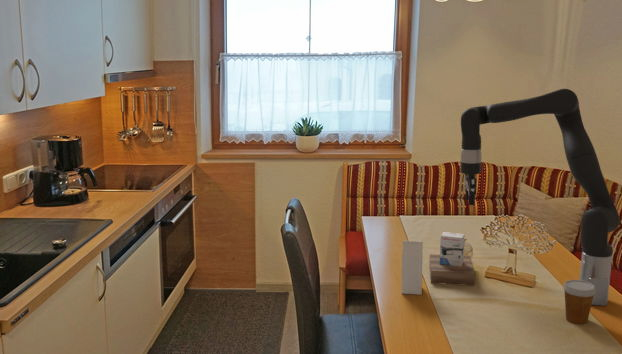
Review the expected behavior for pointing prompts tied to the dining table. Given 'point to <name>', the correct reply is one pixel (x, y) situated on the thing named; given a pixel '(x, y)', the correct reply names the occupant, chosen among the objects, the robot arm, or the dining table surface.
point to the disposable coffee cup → (578, 300)
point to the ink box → (452, 249)
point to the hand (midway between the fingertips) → (470, 202)
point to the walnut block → (451, 272)
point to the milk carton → (412, 267)
